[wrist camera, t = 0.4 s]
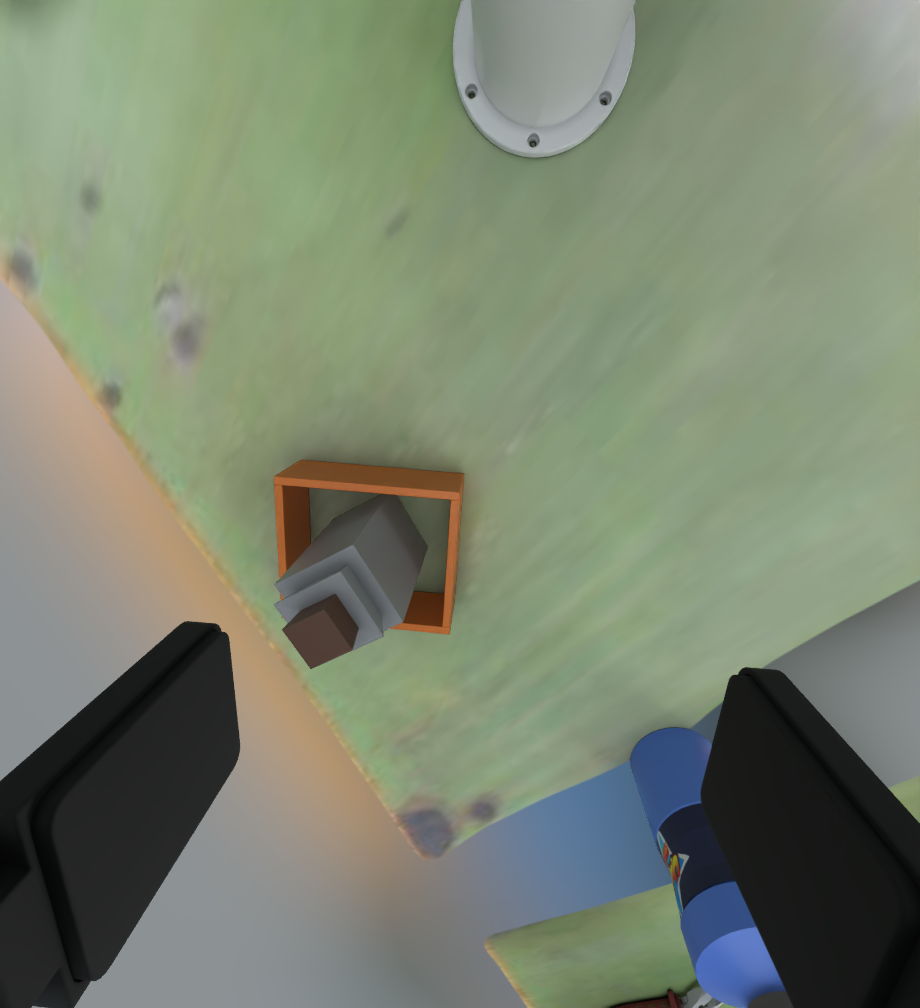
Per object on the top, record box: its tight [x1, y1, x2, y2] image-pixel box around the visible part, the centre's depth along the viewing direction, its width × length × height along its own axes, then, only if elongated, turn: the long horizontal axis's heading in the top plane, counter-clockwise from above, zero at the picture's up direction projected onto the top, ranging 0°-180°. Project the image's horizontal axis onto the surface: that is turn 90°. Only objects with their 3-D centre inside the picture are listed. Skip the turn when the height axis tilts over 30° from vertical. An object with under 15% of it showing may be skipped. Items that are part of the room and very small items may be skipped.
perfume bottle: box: [274, 494, 427, 669], centre depth 39 cm, size 7×7×18 cm
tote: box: [274, 460, 464, 634], centre depth 45 cm, size 13×15×6 cm
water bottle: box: [630, 728, 793, 1008], centre depth 42 cm, size 9×9×25 cm
